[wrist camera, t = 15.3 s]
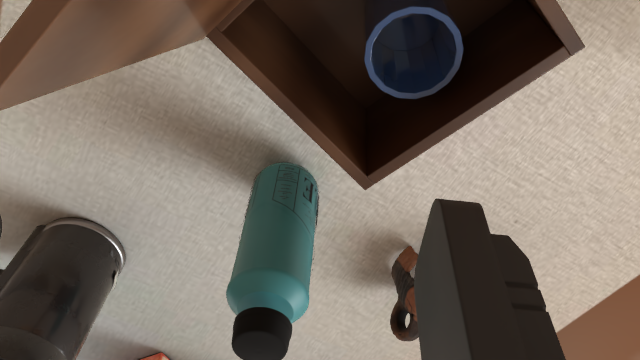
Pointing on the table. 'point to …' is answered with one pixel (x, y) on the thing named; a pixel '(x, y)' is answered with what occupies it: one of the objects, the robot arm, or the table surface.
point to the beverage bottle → (273, 262)
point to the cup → (411, 46)
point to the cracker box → (156, 357)
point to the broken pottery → (404, 297)
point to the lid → (95, 40)
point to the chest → (364, 95)
